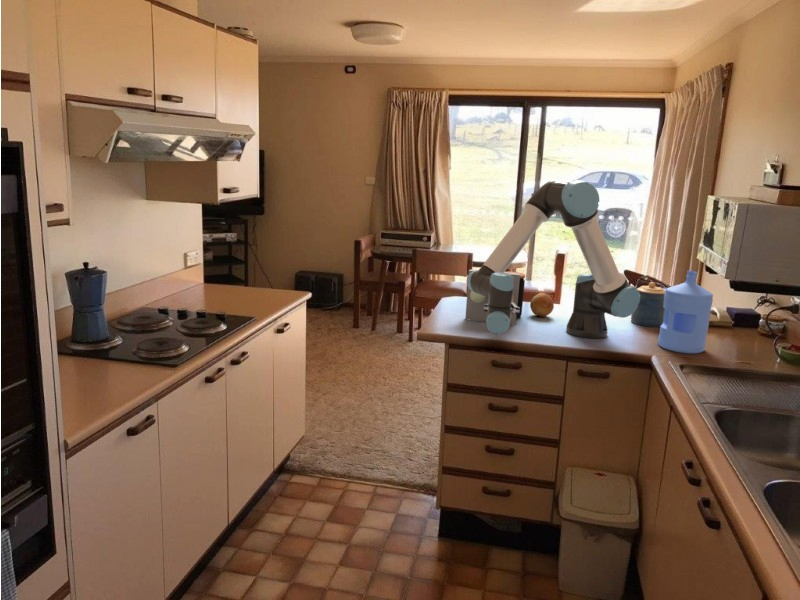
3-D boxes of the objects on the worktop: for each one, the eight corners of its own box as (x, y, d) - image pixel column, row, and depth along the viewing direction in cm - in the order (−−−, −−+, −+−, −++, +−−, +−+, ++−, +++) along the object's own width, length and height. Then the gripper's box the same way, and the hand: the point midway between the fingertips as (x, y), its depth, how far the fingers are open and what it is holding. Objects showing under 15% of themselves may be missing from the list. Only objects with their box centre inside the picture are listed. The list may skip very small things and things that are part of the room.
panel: (466, 317, 251) (469, 269, 246) (515, 322, 246) (520, 273, 242) (465, 319, 248) (468, 270, 243) (515, 324, 244) (519, 274, 239)
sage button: (471, 297, 251) (473, 283, 249) (486, 299, 249) (487, 284, 248) (469, 302, 243) (470, 287, 241) (484, 303, 241) (485, 288, 240)
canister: (641, 327, 249) (647, 285, 245) (624, 319, 261) (629, 279, 257) (670, 327, 251) (676, 285, 248) (651, 319, 264) (657, 279, 260)
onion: (523, 314, 261) (526, 291, 259) (540, 312, 266) (542, 290, 264) (540, 320, 253) (543, 296, 251) (557, 317, 258) (559, 294, 256)
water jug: (679, 340, 232) (690, 267, 226) (714, 352, 217) (727, 275, 212) (647, 343, 226) (658, 268, 220) (681, 355, 212) (693, 276, 206)
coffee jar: (520, 313, 262) (524, 272, 259) (522, 319, 252) (526, 276, 248) (495, 312, 263) (498, 270, 260) (496, 317, 253) (500, 275, 249)
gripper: (480, 322, 214) (486, 308, 237) (518, 326, 212) (520, 311, 234) (482, 301, 213) (488, 289, 235) (520, 305, 210) (522, 292, 233)
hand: (504, 300), depth 235 cm, fingers closed
